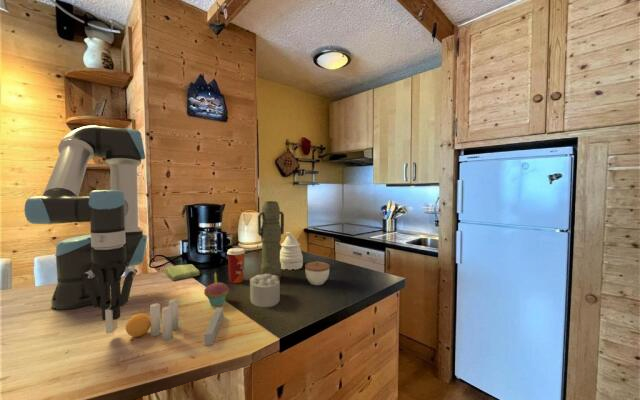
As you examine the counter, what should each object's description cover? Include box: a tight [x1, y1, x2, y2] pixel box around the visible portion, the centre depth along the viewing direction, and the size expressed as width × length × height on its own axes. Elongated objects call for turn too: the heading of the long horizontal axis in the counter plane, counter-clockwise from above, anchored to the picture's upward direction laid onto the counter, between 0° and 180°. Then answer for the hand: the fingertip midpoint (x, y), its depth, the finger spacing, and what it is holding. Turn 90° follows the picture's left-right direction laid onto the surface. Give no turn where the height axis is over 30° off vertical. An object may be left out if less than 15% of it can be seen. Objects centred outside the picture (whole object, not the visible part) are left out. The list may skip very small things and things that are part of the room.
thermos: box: [257, 200, 285, 281], centre depth 124 cm, size 9×12×35 cm
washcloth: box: [164, 263, 201, 281], centre depth 131 cm, size 13×18×3 cm
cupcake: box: [203, 271, 230, 306], centre depth 99 cm, size 9×8×12 cm
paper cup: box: [226, 247, 246, 284], centre depth 122 cm, size 8×8×14 cm
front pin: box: [149, 302, 162, 337], centre depth 79 cm, size 2×2×8 cm
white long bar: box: [203, 306, 224, 346], centre depth 81 cm, size 2×16×3 cm, turn 10°
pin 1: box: [161, 305, 173, 341], centre depth 77 cm, size 2×2×8 cm
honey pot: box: [280, 231, 304, 271], centre depth 144 cm, size 13×13×18 cm
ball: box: [125, 312, 151, 338], centre depth 78 cm, size 6×6×6 cm
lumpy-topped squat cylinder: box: [249, 273, 281, 308], centre depth 103 cm, size 10×13×9 cm
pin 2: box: [168, 298, 179, 331], centre depth 82 cm, size 2×2×8 cm
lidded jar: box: [304, 260, 331, 286], centre depth 121 cm, size 11×11×9 cm
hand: (111, 330), depth 77 cm, fingers closed
